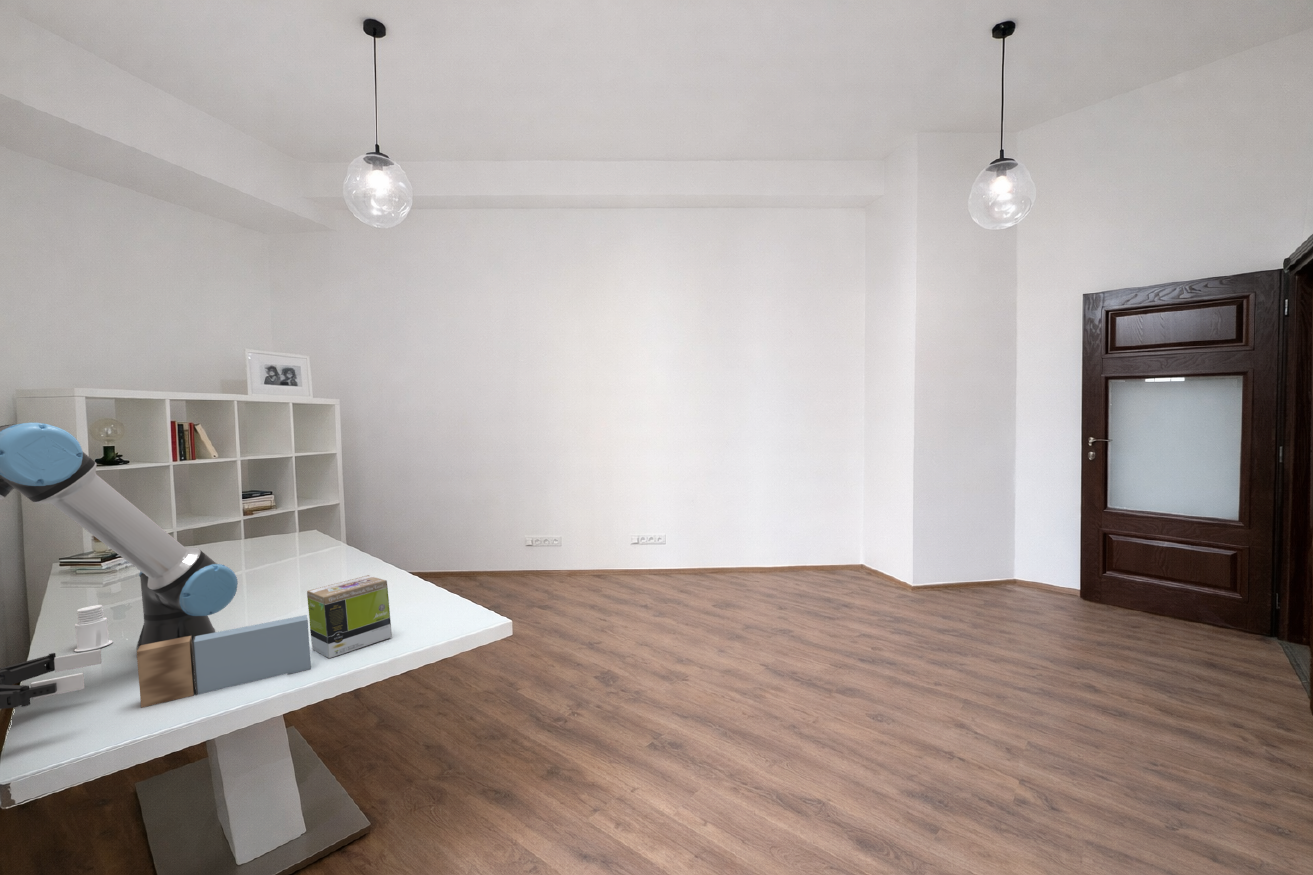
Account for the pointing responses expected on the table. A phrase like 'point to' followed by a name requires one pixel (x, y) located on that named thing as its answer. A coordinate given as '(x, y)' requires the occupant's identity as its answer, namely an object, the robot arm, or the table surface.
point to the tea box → (349, 615)
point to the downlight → (91, 629)
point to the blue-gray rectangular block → (250, 653)
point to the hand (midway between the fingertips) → (92, 667)
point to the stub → (166, 671)
